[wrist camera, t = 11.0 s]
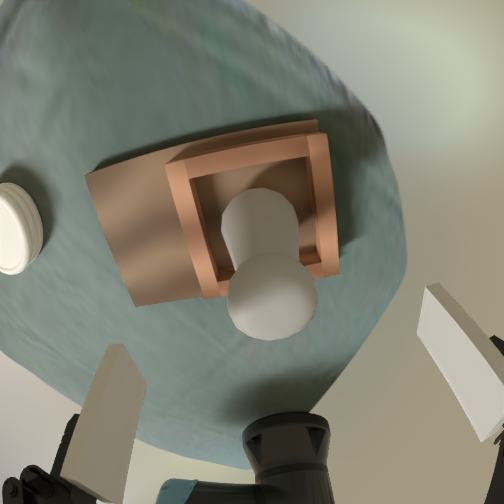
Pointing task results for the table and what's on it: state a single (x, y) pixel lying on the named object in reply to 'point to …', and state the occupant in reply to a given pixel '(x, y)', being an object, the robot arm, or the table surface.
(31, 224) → the white round container
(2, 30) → the table surface
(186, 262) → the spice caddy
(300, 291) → the salt shaker
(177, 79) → the table surface
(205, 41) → the table surface
